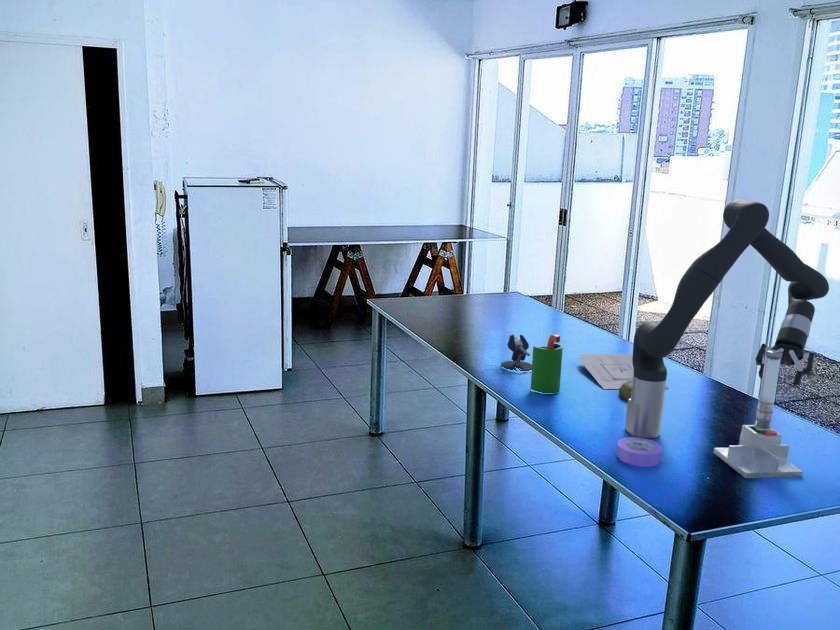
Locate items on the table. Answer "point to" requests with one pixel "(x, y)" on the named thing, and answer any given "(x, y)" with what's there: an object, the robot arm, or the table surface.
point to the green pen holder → (547, 366)
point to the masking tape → (639, 451)
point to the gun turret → (518, 354)
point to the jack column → (767, 390)
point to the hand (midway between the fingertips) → (778, 381)
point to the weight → (626, 390)
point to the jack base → (759, 455)
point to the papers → (609, 368)
